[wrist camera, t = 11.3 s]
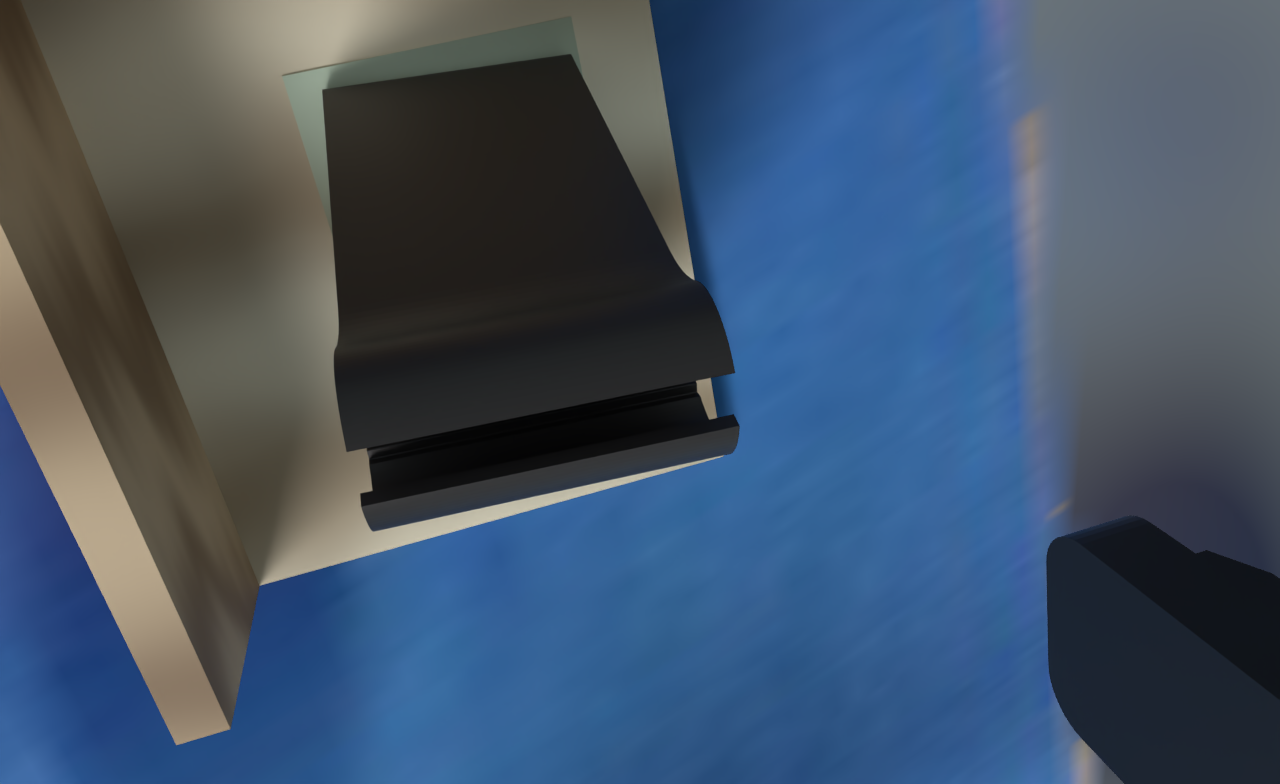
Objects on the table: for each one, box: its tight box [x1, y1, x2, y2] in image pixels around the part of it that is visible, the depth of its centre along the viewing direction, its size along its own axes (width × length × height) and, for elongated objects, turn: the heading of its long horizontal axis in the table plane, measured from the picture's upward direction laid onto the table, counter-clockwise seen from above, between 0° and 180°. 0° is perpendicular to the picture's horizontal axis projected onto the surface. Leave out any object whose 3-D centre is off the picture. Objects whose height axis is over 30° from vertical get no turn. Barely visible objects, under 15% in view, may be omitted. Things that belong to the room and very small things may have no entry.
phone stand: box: [322, 54, 739, 532], centre depth 21 cm, size 9×6×12 cm, turn 6°
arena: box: [0, 0, 723, 745], centre depth 23 cm, size 18×15×7 cm
